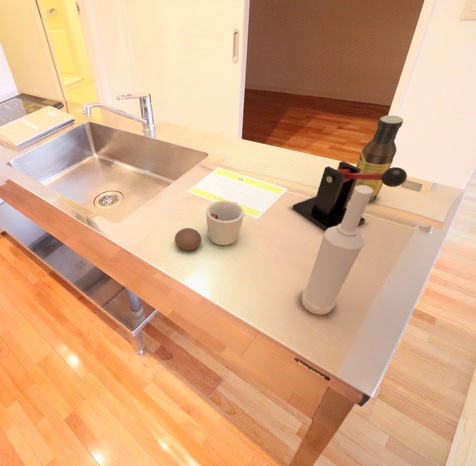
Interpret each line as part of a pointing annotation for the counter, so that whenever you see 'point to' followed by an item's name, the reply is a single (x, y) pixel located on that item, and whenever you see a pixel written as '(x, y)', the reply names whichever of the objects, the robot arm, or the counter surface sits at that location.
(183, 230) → the egg
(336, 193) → the press
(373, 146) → the sauce bottle
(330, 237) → the bottle
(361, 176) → the lever
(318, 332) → the counter surface
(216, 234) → the cup
